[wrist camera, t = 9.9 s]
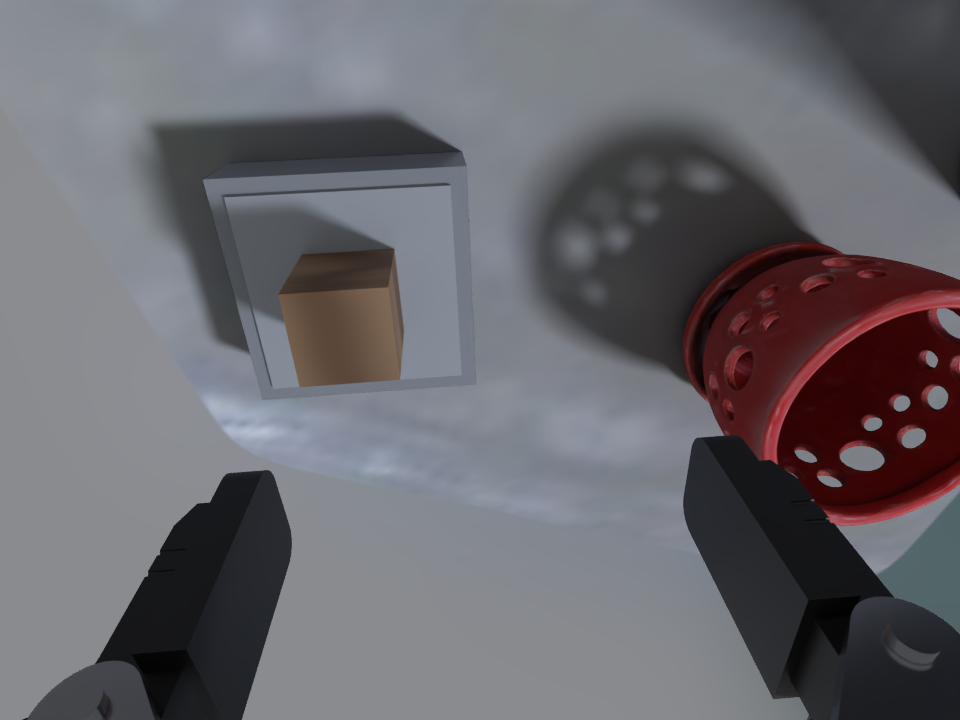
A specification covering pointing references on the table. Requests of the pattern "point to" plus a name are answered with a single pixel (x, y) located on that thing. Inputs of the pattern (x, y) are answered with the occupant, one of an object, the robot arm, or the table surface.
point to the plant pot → (832, 371)
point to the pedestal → (344, 228)
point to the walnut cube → (344, 317)
